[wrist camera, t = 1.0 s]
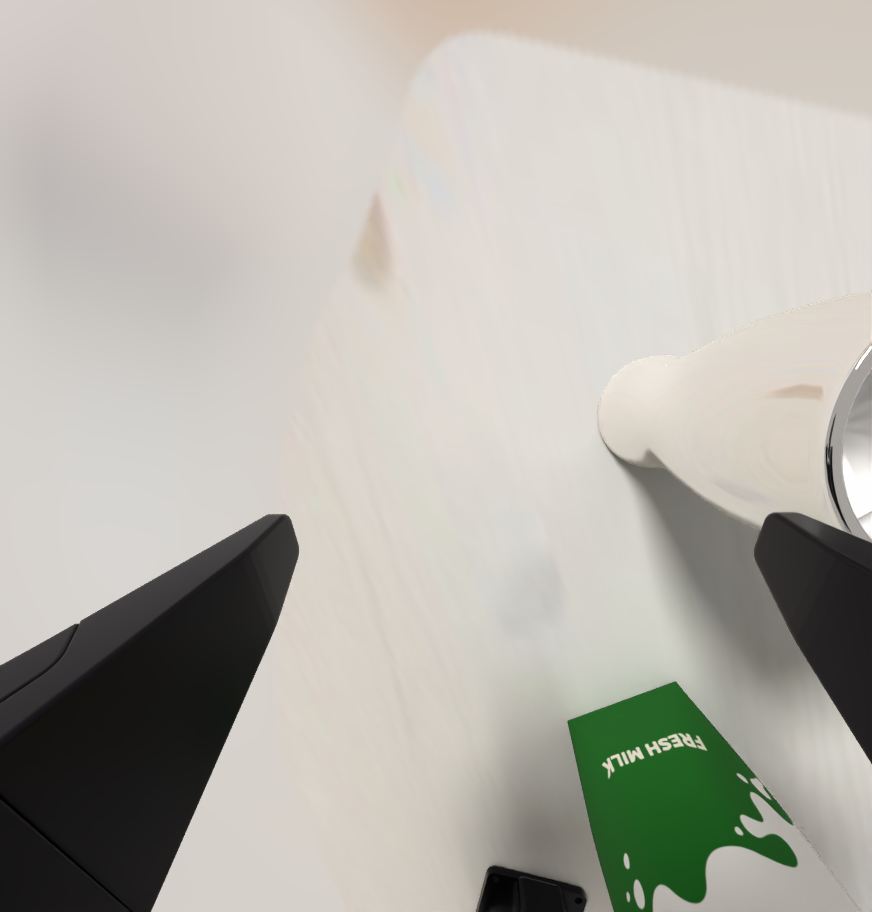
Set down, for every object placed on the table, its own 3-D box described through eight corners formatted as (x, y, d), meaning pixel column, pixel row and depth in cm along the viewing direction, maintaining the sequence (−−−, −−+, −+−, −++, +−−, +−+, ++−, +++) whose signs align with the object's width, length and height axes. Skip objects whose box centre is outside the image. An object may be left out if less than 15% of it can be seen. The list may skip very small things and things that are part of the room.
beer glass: (745, 422, 22) (1295, 472, 8) (637, 499, 23) (937, 676, 9) (670, 319, 22) (1102, 157, 7) (562, 402, 23) (743, 412, 8)
